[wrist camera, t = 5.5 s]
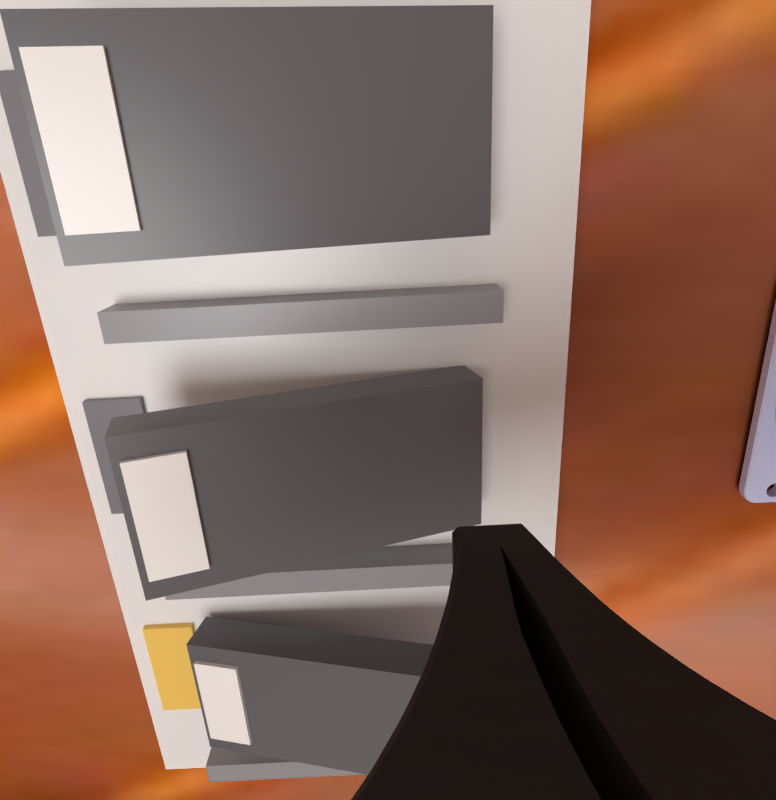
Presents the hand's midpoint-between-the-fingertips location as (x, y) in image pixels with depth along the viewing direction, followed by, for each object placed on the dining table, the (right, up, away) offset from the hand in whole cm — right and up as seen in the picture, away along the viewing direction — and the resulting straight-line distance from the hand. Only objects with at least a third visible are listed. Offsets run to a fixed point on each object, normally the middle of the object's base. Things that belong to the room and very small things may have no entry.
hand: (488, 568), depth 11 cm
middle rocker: (-4, +1, +4) cm, 6 cm away
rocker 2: (-3, -6, +7) cm, 10 cm away
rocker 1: (-4, +9, +1) cm, 10 cm away
